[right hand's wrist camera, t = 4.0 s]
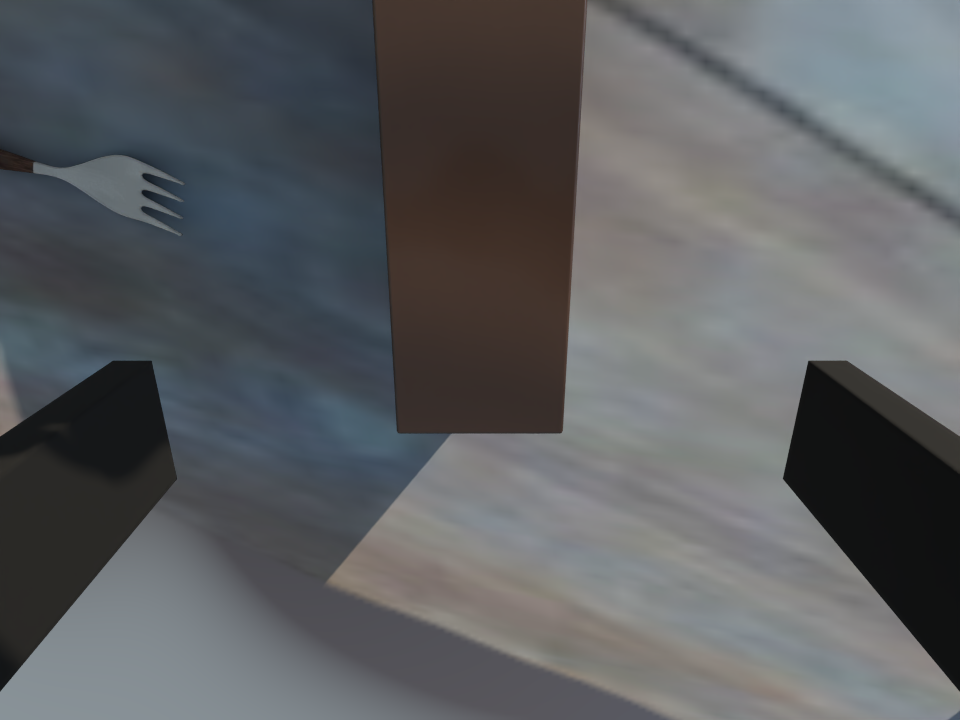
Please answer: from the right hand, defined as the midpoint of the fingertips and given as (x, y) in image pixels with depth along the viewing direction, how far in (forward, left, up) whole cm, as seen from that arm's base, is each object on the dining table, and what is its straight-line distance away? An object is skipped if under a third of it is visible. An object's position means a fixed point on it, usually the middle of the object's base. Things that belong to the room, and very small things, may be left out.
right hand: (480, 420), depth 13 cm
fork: (+4, +20, -17) cm, 26 cm away
